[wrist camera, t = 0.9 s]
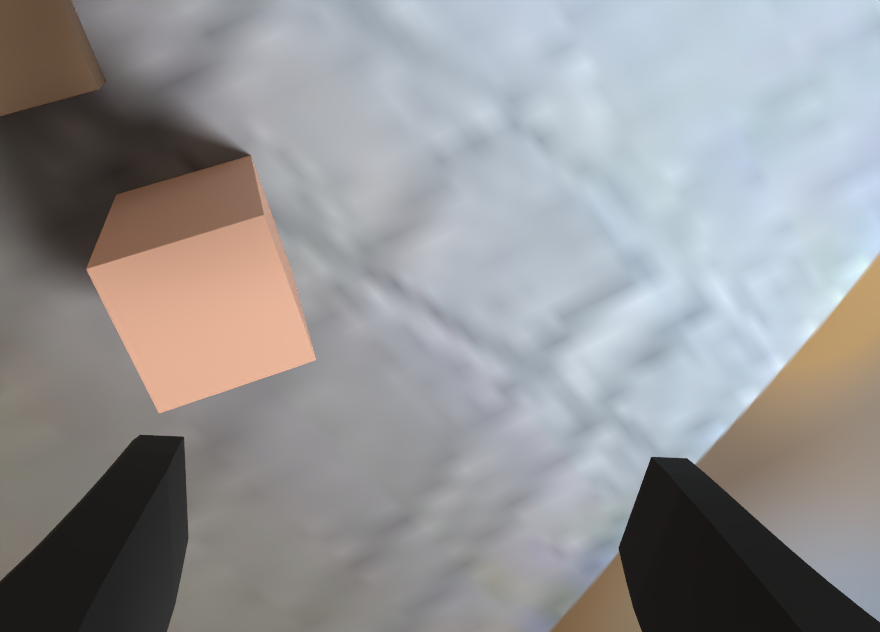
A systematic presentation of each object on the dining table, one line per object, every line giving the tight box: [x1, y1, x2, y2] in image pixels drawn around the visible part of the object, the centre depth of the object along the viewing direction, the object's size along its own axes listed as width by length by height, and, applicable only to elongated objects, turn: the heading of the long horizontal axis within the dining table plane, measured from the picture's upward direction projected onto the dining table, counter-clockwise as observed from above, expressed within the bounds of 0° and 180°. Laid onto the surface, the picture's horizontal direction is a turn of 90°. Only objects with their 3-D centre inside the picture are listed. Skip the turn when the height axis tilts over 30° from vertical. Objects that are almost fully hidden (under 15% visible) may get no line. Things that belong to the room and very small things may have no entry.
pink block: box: [86, 155, 316, 413], centre depth 20 cm, size 4×4×6 cm
